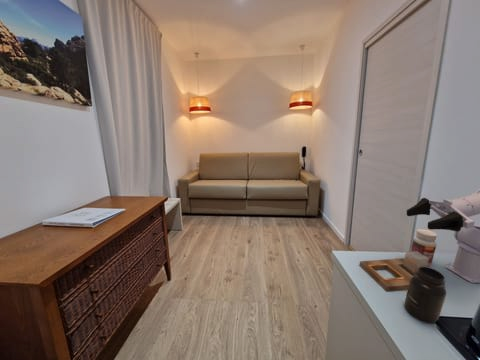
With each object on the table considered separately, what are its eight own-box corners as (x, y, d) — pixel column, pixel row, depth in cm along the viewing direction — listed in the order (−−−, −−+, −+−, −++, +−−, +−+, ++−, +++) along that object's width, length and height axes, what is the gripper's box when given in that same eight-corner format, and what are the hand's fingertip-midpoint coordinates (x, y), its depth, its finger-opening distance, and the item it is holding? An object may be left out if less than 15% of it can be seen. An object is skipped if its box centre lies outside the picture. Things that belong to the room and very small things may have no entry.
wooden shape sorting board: (408, 261, 75) (409, 257, 75) (444, 286, 63) (445, 281, 63) (359, 265, 73) (360, 260, 72) (386, 291, 61) (387, 286, 61)
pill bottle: (423, 267, 72) (430, 237, 69) (405, 257, 78) (411, 229, 75) (435, 264, 74) (443, 235, 71) (416, 254, 79) (423, 227, 77)
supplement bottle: (399, 309, 55) (408, 270, 52) (409, 298, 59) (418, 260, 56) (433, 329, 50) (446, 286, 47) (441, 315, 54) (453, 274, 51)
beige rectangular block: (412, 269, 71) (416, 251, 69) (423, 277, 67) (428, 258, 65) (401, 270, 70) (405, 252, 69) (412, 278, 67) (417, 259, 65)
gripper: (440, 186, 69) (399, 197, 69) (493, 207, 55) (440, 220, 56) (439, 205, 71) (399, 215, 72) (489, 229, 57) (439, 241, 58)
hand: (417, 219), depth 64 cm, fingers open, 7 cm apart
